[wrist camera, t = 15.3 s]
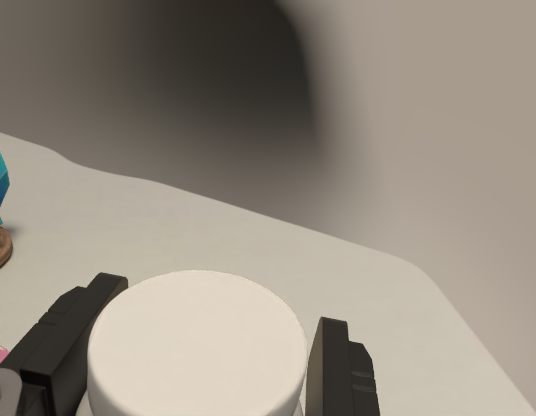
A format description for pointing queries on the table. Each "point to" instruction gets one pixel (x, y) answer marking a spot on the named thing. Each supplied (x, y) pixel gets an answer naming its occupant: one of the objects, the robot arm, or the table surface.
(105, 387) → the pill bottle
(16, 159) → the table surface
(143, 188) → the table surface
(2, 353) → the teacup
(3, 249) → the gemstone
